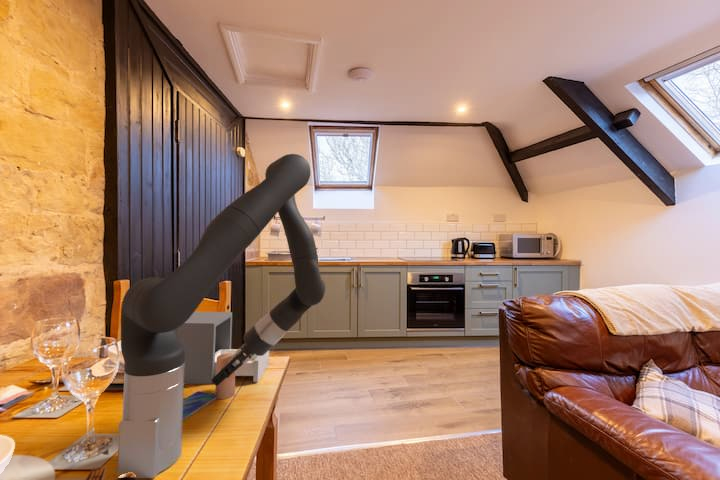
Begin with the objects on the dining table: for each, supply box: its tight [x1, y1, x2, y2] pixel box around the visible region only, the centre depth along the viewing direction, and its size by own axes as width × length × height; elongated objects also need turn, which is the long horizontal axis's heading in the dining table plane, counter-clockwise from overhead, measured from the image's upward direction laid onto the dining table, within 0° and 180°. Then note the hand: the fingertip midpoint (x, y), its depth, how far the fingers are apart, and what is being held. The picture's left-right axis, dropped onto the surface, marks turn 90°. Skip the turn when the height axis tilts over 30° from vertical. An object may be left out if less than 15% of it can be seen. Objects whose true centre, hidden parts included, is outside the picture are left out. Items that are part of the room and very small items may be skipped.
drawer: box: [214, 348, 270, 383], centre depth 93 cm, size 16×13×6 cm
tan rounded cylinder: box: [215, 353, 236, 400], centre depth 80 cm, size 5×5×10 cm
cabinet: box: [177, 311, 233, 385], centre depth 92 cm, size 16×14×17 cm
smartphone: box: [183, 391, 218, 421], centre depth 72 cm, size 7×1×15 cm
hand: (218, 378), depth 80 cm, fingers closed on tan rounded cylinder, 4 cm apart
